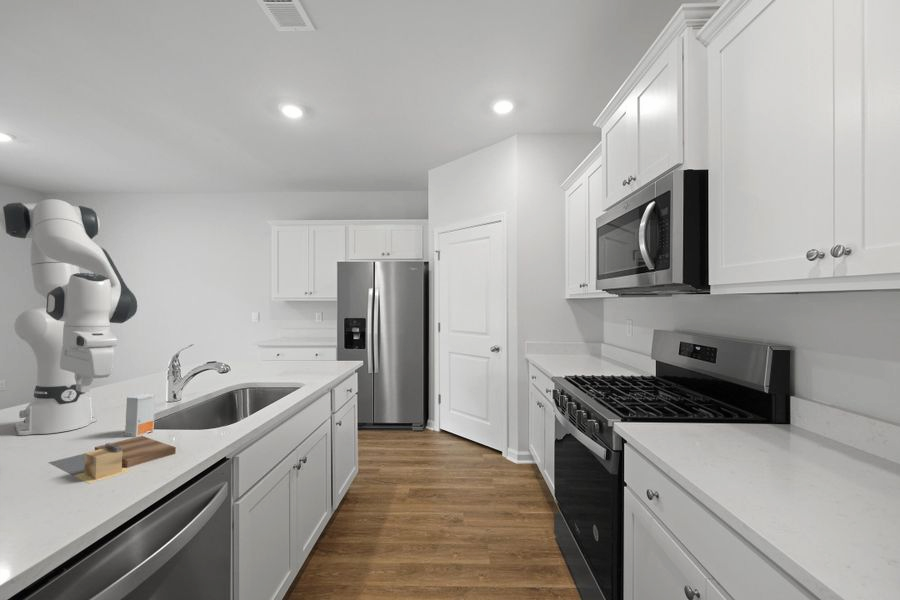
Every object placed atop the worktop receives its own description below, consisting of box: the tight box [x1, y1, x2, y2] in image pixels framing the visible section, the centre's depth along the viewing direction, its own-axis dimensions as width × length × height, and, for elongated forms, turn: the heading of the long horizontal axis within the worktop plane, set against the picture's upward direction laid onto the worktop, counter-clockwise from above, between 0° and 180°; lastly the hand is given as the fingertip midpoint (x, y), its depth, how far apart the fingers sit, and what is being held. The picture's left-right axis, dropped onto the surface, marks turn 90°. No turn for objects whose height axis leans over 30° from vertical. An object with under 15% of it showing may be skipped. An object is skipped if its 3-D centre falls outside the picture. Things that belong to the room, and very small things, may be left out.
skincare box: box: [124, 393, 156, 438], centre depth 124 cm, size 6×4×12 cm
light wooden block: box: [84, 442, 123, 480], centre depth 95 cm, size 6×5×6 cm
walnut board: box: [94, 435, 177, 469], centre depth 108 cm, size 18×11×2 cm, turn 62°
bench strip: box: [48, 453, 131, 484], centre depth 99 cm, size 23×8×1 cm, turn 62°
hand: (83, 391), depth 101 cm, fingers closed
